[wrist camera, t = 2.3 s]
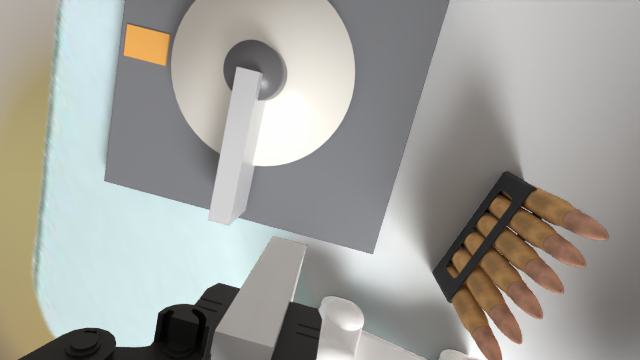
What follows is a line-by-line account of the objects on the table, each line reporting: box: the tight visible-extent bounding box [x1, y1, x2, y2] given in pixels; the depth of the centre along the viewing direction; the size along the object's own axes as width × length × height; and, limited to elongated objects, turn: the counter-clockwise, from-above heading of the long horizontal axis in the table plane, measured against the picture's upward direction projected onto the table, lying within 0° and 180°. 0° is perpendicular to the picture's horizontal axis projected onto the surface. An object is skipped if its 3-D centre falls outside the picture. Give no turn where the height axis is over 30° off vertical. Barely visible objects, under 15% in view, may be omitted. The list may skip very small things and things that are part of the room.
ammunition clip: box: [432, 171, 609, 360], centre depth 25 cm, size 11×2×12 cm, turn 151°
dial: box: [171, 0, 355, 226], centre depth 26 cm, size 18×14×4 cm
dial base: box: [104, 0, 449, 254], centre depth 29 cm, size 24×24×2 cm
